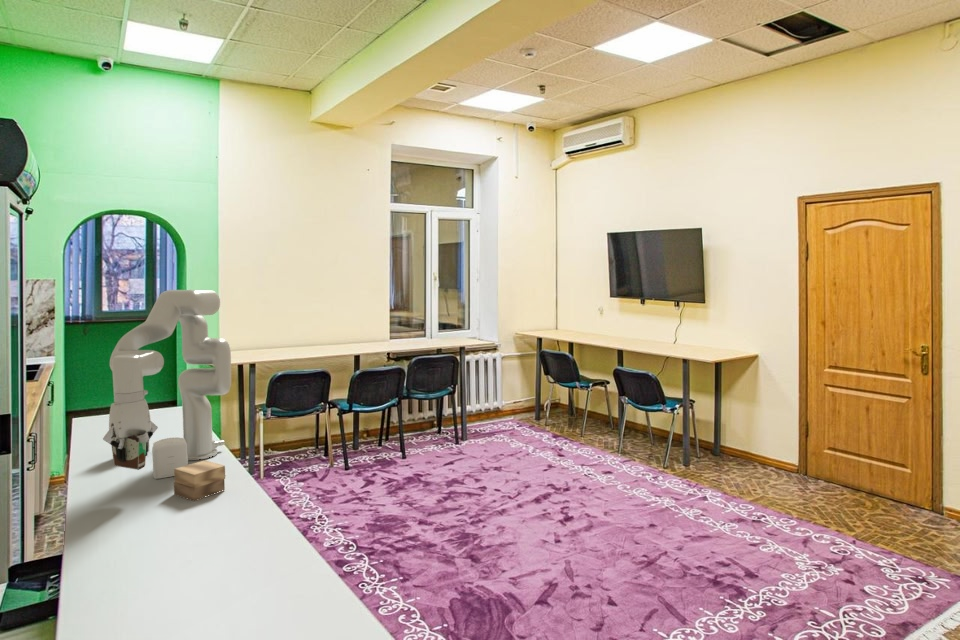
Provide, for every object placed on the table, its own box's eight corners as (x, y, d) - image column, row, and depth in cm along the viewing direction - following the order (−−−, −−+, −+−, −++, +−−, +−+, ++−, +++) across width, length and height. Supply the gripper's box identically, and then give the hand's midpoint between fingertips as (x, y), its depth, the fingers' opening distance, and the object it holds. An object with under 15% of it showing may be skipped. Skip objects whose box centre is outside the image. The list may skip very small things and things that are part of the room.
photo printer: (154, 480, 199) (152, 442, 198) (152, 476, 202) (151, 439, 201) (189, 474, 204) (188, 437, 204) (187, 471, 208) (186, 434, 207)
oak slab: (205, 472, 195) (204, 460, 194) (225, 478, 189) (224, 465, 189) (174, 481, 186) (174, 468, 186) (194, 488, 181) (194, 474, 181)
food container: (160, 463, 184) (158, 430, 183) (142, 470, 178) (140, 436, 177) (128, 458, 188) (127, 426, 187) (110, 465, 182) (108, 431, 181)
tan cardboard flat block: (205, 485, 195) (204, 473, 194) (224, 492, 189) (224, 479, 189) (174, 495, 186) (173, 482, 186) (194, 502, 181) (193, 488, 180)
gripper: (151, 390, 190) (154, 448, 191) (90, 401, 175) (95, 464, 177) (165, 393, 185) (168, 452, 187) (104, 404, 171) (108, 468, 173)
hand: (132, 457), depth 182 cm, fingers closed on food container, 5 cm apart
